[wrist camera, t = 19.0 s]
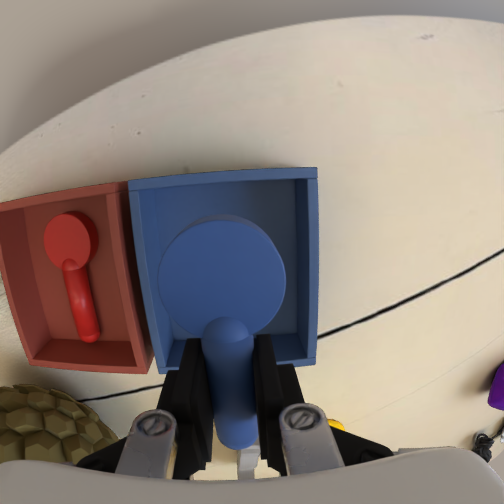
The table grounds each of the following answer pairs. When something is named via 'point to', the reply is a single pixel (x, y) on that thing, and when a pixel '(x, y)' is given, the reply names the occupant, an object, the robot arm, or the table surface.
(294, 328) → the blue bin
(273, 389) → the robot arm
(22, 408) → the decorative object
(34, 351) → the red bin
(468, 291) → the table surface
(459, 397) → the table surface
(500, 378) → the crystal
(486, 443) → the computer mouse
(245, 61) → the table surface
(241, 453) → the grey flat angular piece
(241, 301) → the blue spoon
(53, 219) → the red ping pong paddle
